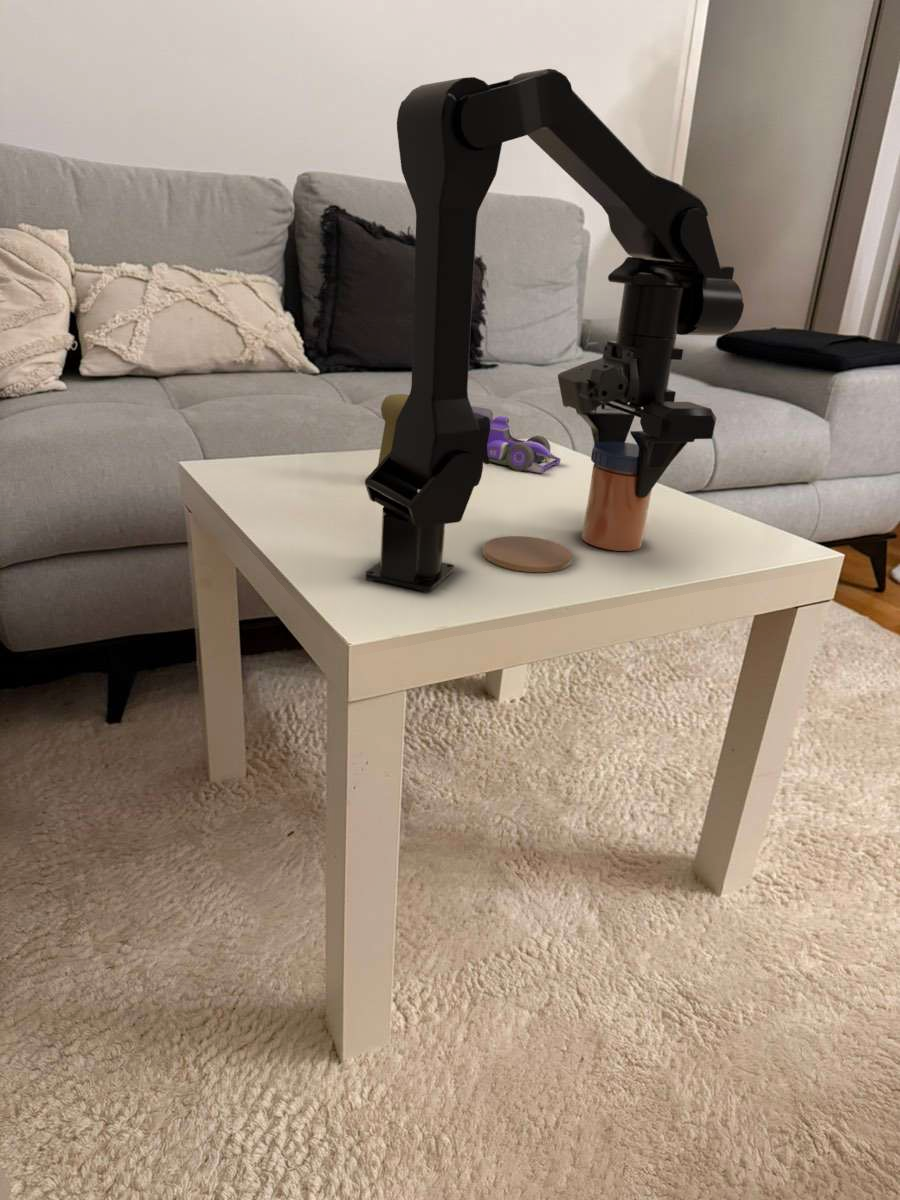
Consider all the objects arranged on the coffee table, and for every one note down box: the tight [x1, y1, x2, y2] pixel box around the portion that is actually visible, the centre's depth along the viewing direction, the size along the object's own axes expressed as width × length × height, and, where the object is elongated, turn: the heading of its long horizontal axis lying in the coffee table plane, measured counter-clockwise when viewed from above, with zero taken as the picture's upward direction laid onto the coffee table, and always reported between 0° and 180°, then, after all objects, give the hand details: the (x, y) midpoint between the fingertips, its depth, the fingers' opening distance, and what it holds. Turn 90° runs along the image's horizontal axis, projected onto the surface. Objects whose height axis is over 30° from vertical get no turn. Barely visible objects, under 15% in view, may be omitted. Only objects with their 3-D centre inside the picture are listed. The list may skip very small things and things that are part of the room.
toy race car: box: [471, 405, 561, 475], centre depth 121 cm, size 10×15×6 cm, turn 62°
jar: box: [581, 463, 653, 552], centre depth 90 cm, size 6×6×9 cm
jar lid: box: [590, 442, 639, 473], centre depth 89 cm, size 7×7×2 cm
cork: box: [377, 393, 409, 466], centre depth 105 cm, size 6×6×11 cm
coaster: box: [482, 535, 573, 574], centre depth 86 cm, size 9×9×1 cm
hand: (622, 487), depth 90 cm, fingers closed on jar lid, 6 cm apart
